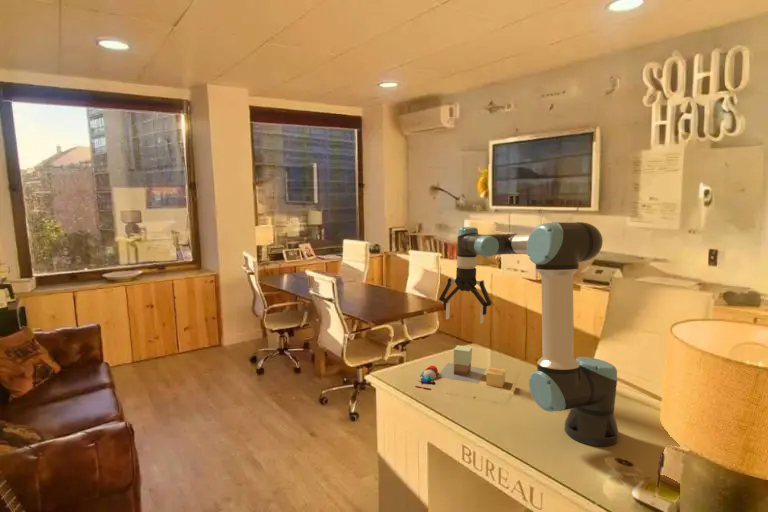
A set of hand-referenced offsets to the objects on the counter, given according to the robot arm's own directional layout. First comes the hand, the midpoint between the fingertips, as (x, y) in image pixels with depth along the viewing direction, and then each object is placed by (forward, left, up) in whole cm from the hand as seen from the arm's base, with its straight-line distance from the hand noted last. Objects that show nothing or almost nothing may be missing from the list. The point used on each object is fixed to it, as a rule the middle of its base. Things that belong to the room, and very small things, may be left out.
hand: (464, 320), depth 188 cm
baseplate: (0, 0, -22) cm, 23 cm away
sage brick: (0, 0, -17) cm, 17 cm away
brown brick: (0, 0, -21) cm, 21 cm away
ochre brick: (-5, -14, -23) cm, 27 cm away
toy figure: (-11, +11, -23) cm, 28 cm away
